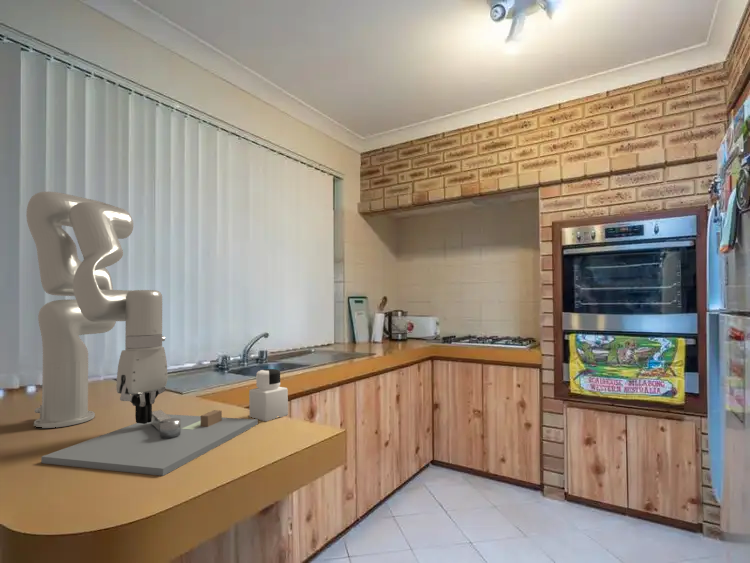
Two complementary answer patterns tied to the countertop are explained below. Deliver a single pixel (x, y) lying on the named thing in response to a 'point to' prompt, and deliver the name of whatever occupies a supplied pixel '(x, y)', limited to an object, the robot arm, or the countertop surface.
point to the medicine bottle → (268, 396)
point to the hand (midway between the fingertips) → (143, 422)
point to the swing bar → (166, 424)
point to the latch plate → (152, 445)
